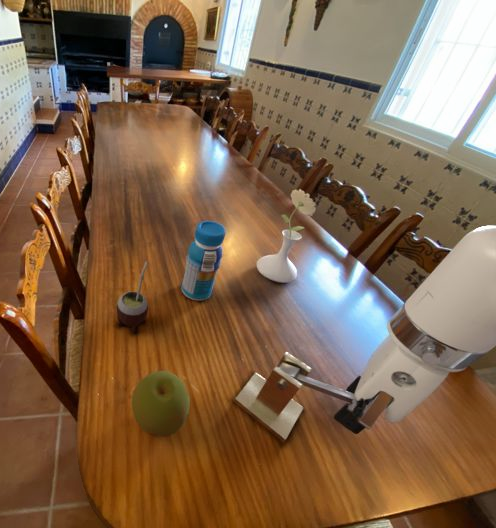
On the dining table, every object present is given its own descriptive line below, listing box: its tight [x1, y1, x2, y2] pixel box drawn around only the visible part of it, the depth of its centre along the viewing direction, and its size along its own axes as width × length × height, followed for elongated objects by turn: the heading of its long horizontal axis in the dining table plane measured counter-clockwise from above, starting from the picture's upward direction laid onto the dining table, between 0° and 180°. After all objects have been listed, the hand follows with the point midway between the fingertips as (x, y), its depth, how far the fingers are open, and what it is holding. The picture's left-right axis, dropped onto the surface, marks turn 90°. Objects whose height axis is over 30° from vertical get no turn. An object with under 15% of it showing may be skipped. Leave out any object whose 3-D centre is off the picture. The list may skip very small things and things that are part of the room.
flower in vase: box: [256, 188, 317, 284], centre depth 81 cm, size 13×11×25 cm
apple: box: [131, 370, 191, 437], centre depth 50 cm, size 10×10×11 cm
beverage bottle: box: [180, 220, 226, 301], centre depth 74 cm, size 8×8×20 cm
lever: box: [279, 363, 367, 410], centre depth 46 cm, size 12×5×2 cm, turn 45°
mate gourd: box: [116, 260, 149, 335], centre depth 66 cm, size 8×8×15 cm
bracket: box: [233, 351, 312, 443], centre depth 52 cm, size 10×8×13 cm
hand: (351, 409), depth 44 cm, fingers closed on lever, 5 cm apart
